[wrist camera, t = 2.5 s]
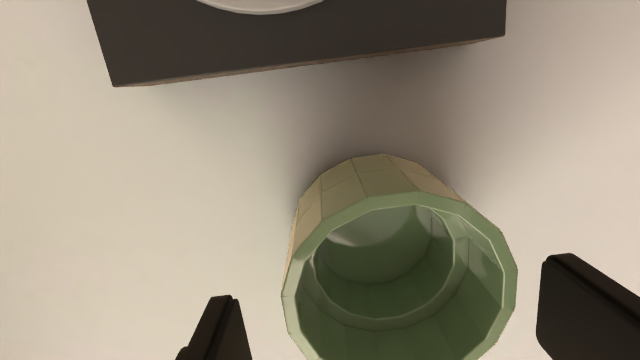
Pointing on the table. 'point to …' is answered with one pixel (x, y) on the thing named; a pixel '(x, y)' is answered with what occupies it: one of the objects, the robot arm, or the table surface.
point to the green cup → (394, 267)
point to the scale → (275, 33)
